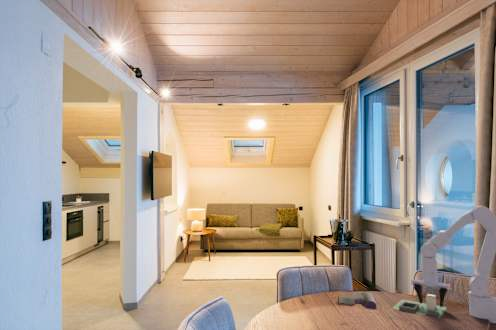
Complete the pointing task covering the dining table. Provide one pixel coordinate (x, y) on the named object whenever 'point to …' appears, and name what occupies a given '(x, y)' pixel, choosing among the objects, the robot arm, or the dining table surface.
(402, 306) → the socket
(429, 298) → the plug
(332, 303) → the dining table surface
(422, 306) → the circuit board
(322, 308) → the dining table surface
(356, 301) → the infrared thermometer
